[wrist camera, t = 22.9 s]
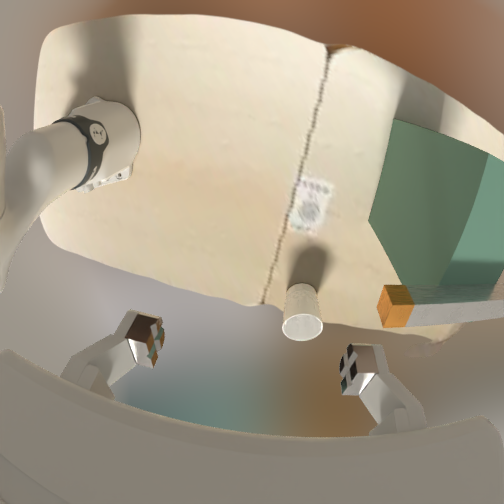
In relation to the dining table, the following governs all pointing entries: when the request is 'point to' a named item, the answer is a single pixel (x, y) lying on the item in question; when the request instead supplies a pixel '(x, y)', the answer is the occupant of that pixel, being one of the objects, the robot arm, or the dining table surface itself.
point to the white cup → (302, 313)
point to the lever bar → (439, 304)
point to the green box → (440, 209)
